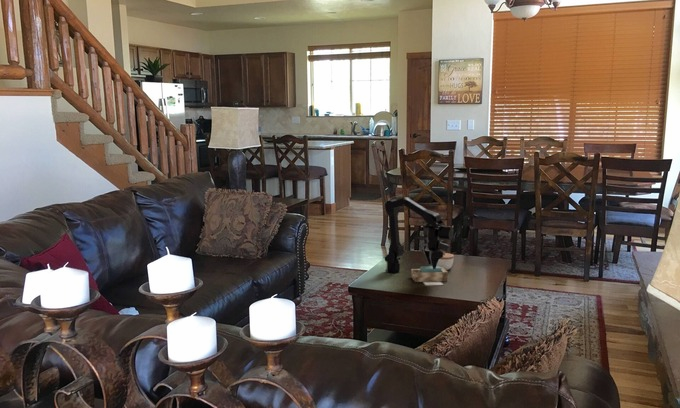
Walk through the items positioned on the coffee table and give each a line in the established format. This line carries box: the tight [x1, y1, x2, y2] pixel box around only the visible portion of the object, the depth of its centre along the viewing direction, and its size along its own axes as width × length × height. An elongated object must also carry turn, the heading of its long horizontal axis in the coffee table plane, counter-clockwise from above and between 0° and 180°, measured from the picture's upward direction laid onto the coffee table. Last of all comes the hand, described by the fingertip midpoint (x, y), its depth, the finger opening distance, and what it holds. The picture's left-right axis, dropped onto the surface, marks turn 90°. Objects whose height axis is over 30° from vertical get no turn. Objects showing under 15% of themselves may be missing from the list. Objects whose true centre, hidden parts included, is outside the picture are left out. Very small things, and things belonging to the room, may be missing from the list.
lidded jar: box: [437, 251, 455, 271], centre depth 316 cm, size 11×11×9 cm
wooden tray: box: [410, 267, 449, 283], centre depth 295 cm, size 17×8×5 cm, turn 96°
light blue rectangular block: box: [419, 265, 441, 273], centre depth 295 cm, size 10×4×4 cm, turn 96°
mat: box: [422, 281, 444, 287], centre depth 287 cm, size 9×5×1 cm, turn 96°
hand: (431, 266), depth 294 cm, fingers open, 9 cm apart
